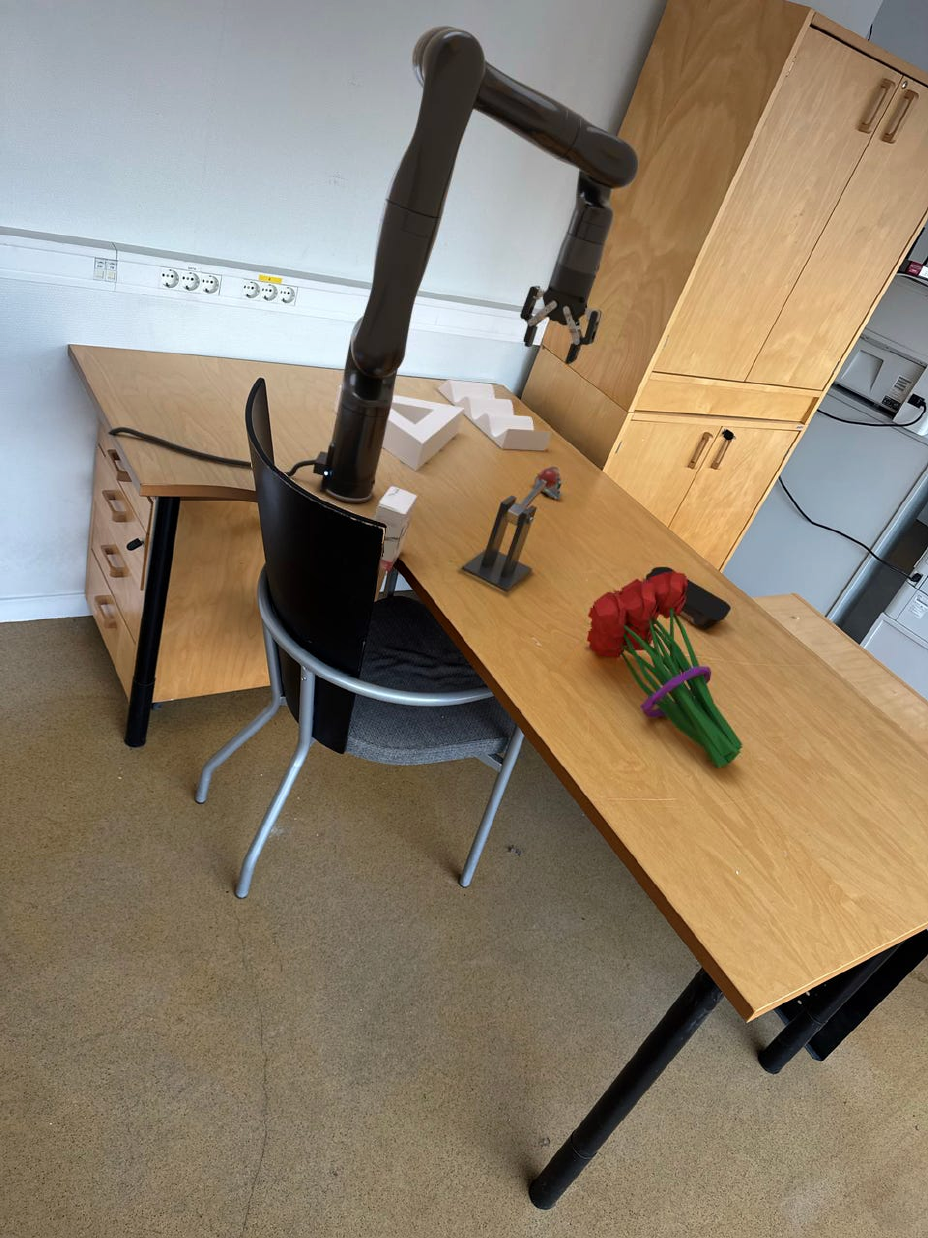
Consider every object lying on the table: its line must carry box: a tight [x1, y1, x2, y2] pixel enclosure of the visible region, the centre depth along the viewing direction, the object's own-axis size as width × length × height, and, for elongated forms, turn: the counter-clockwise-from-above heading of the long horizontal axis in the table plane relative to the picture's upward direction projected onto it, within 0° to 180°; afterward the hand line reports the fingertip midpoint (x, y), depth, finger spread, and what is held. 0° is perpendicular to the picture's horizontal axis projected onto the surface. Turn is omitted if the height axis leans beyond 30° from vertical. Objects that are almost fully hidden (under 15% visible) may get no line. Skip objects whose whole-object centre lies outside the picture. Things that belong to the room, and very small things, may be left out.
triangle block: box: [333, 384, 465, 472], centre depth 192 cm, size 30×26×6 cm
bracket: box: [461, 495, 538, 593], centre depth 146 cm, size 11×9×14 cm
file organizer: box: [437, 379, 553, 452], centre depth 215 cm, size 13×35×5 cm, turn 28°
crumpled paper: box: [533, 466, 563, 500], centre depth 185 cm, size 4×8×7 cm, turn 30°
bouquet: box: [586, 570, 743, 769], centre depth 125 cm, size 20×16×30 cm
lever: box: [506, 467, 558, 527], centre depth 147 cm, size 15×3×3 cm, turn 153°
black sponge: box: [645, 566, 732, 630], centre depth 157 cm, size 16×8×4 cm, turn 46°
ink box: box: [373, 485, 418, 573], centre depth 140 cm, size 9×5×12 cm, turn 168°
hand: (548, 354), depth 157 cm, fingers open, 8 cm apart
